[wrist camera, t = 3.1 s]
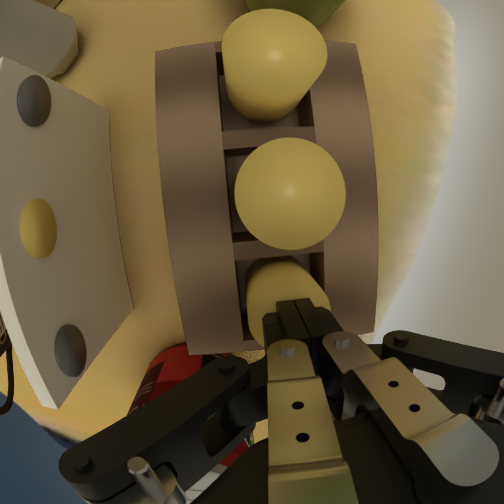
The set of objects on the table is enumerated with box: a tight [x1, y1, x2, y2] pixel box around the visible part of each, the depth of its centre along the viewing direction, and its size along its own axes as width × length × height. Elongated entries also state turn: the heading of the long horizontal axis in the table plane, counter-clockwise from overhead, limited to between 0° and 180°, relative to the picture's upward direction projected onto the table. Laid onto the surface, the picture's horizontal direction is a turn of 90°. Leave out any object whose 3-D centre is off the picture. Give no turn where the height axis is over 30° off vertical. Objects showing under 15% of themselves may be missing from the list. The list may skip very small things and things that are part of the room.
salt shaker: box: [0, 0, 79, 79], centre depth 8 cm, size 6×6×13 cm
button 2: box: [222, 9, 327, 123], centre depth 11 cm, size 4×4×5 cm
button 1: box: [245, 255, 331, 347], centre depth 15 cm, size 4×4×5 cm
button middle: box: [235, 138, 346, 250], centre depth 12 cm, size 4×4×5 cm
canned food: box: [127, 344, 254, 504], centre depth 15 cm, size 8×8×11 cm
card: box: [0, 56, 134, 409], centre depth 12 cm, size 14×1×11 cm, turn 5°
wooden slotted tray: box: [155, 40, 378, 355], centre depth 16 cm, size 17×11×4 cm, turn 5°
